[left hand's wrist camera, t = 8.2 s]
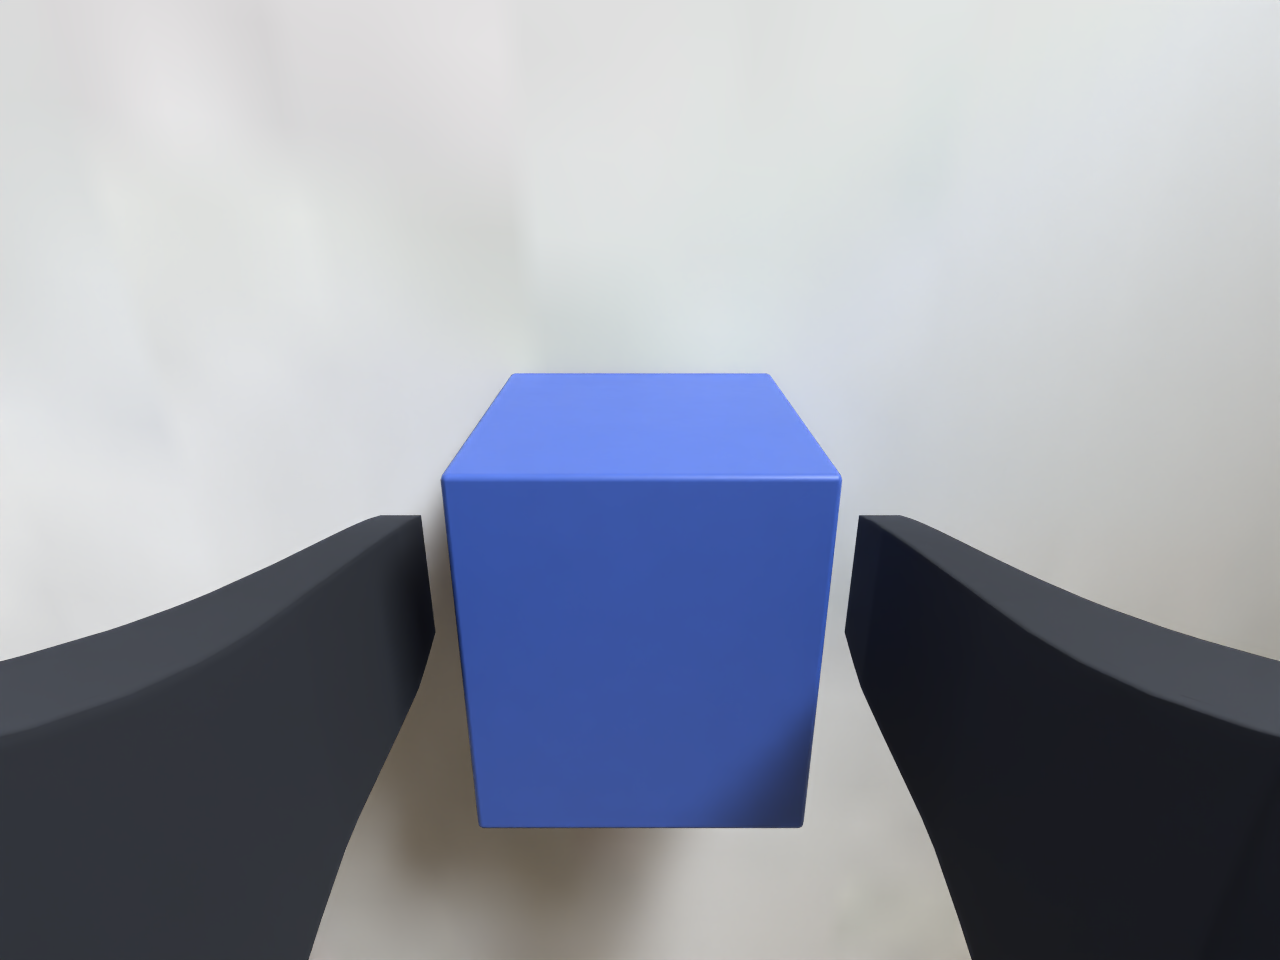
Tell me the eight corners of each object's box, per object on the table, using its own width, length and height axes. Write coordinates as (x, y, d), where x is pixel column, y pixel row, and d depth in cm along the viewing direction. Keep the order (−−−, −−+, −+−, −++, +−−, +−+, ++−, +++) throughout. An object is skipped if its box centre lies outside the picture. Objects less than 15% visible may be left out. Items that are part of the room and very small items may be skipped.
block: (528, 630, 14) (477, 831, 10) (510, 372, 12) (438, 476, 8) (752, 630, 14) (804, 830, 10) (770, 372, 12) (844, 475, 8)
